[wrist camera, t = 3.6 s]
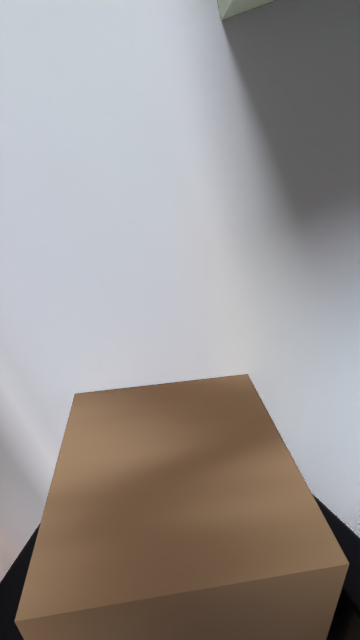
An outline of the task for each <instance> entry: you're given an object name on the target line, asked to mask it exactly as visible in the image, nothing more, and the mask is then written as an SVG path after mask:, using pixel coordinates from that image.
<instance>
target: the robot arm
mask: <svg viewBox="0 0 360 640" xmlns="http://www.w3.org/2000/svg"><path fill="white" fill-rule="evenodd" d="M312 495H313V494H312ZM313 497H314V499H315V501H316V503H317V504H318V506H319V508H320V510H321V512H322V514H323V516H324V517H325V519H326V521H327V523H328V525H329V527H330V529H331V530H332V532H333V534H334V536H335V538H336V540H337V542H338V543H339V545H340V547H341V549H342V551H343V553H344V555H345V557H346V558H347V560H348V562H349V567H348V570H347V573H346V576H345V580H344V583H343V586H342V590H341V593H340V596H339V599H338V603H337V606H336V609H335V612H334V616H333V619H332V622H331V625H330V629H329V632H328V635H327V638H326V640H360V538H359V537H358V536H357V535H356V534H355V533H354V532H353V531H352V530H351V529H350V528H348V527H347V526H346V525H345V524H344V523H343V522H342V521H341V520H340V519H339V518H338V517H337V516H336V515H334V514H333V513H332V512H331V511H330V510H329V509H328V508H327V507H326V506H325V505H324V504H323V503H322V502H320V501H319V500H318V499H317V498H316V497H315V496H314V495H313ZM39 527H40V524H39V526H38V527H37V529H36V530H35V532H34V533H33V535H32V536H31V538H30V539H29V541H28V542H27V544H26V545H25V547H24V548H23V550H22V551H21V553H20V554H19V556H18V557H17V559H16V560H15V562H14V563H13V564H12V566H11V567H10V569H9V570H8V572H7V573H6V575H5V576H4V578H3V579H2V581H1V582H0V640H24V639H23V637H22V635H21V633H20V631H19V629H18V627H17V625H16V624H15V622H14V621H15V617H16V614H17V610H18V606H19V602H20V599H21V595H22V591H23V587H24V584H25V580H26V576H27V572H28V569H29V565H30V561H31V557H32V554H33V550H34V546H35V542H36V538H37V535H38V531H39Z"/></svg>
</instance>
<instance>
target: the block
mask: <svg viewBox="0 0 360 640" xmlns="http://www.w3.org/2000/svg"><path fill="white" fill-rule="evenodd" d="M272 1H275V0H217V3H218V8H219V13H220V18H221V20H224V19H226V18H229V17H232V16H234V15H237V14H240V13H243V12H245V11H248V10H251V9H253V8H256V7H259V6H262V5H264V4H267V3H270V2H272Z"/></svg>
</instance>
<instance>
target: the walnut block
mask: <svg viewBox="0 0 360 640" xmlns="http://www.w3.org/2000/svg"><path fill="white" fill-rule="evenodd" d="M348 567H349V562H348V560H347V558H346V557H345V555H344V553H343V551H342V549H341V547H340V545H339V543H338V542H337V540H336V538H335V536H334V534H333V532H332V530H331V529H330V527H329V525H328V523H327V521H326V519H325V517H324V516H323V514H322V512H321V510H320V508H319V506H318V504H317V503H316V501H315V499H314V497H313V495H312V493H311V491H310V490H309V488H308V486H307V484H306V482H305V480H304V478H303V477H302V475H301V473H300V471H299V469H298V467H297V465H296V463H295V462H294V460H293V458H292V456H291V454H290V452H289V450H288V449H287V447H286V445H285V443H284V441H283V439H282V437H281V436H280V434H279V432H278V430H277V428H276V426H275V424H274V423H273V421H272V419H271V417H270V415H269V413H268V411H267V410H266V408H265V406H264V404H263V402H262V400H261V398H260V397H259V395H258V393H257V391H256V389H255V387H254V385H253V383H252V382H251V380H250V378H249V376H248V374H246V375H237V376H228V377H219V378H210V379H202V380H193V381H184V382H175V383H166V384H158V385H149V386H140V387H131V388H122V389H114V390H105V391H96V392H87V393H78V394H75V396H74V399H73V403H72V407H71V411H70V414H69V418H68V422H67V426H66V429H65V433H64V437H63V441H62V444H61V448H60V452H59V456H58V460H57V463H56V467H55V471H54V475H53V478H52V482H51V486H50V490H49V493H48V497H47V501H46V505H45V508H44V512H43V516H42V520H41V523H40V527H39V531H38V535H37V538H36V542H35V546H34V550H33V554H32V557H31V561H30V565H29V569H28V572H27V576H26V580H25V584H24V587H23V591H22V595H21V599H20V602H19V606H18V610H17V614H16V617H15V621H14V622H15V624H16V625H17V627H18V629H19V631H20V633H21V635H22V637H23V639H24V640H326V638H327V635H328V632H329V629H330V625H331V622H332V619H333V616H334V612H335V609H336V606H337V603H338V599H339V596H340V593H341V590H342V586H343V583H344V580H345V576H346V573H347V570H348Z"/></svg>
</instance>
